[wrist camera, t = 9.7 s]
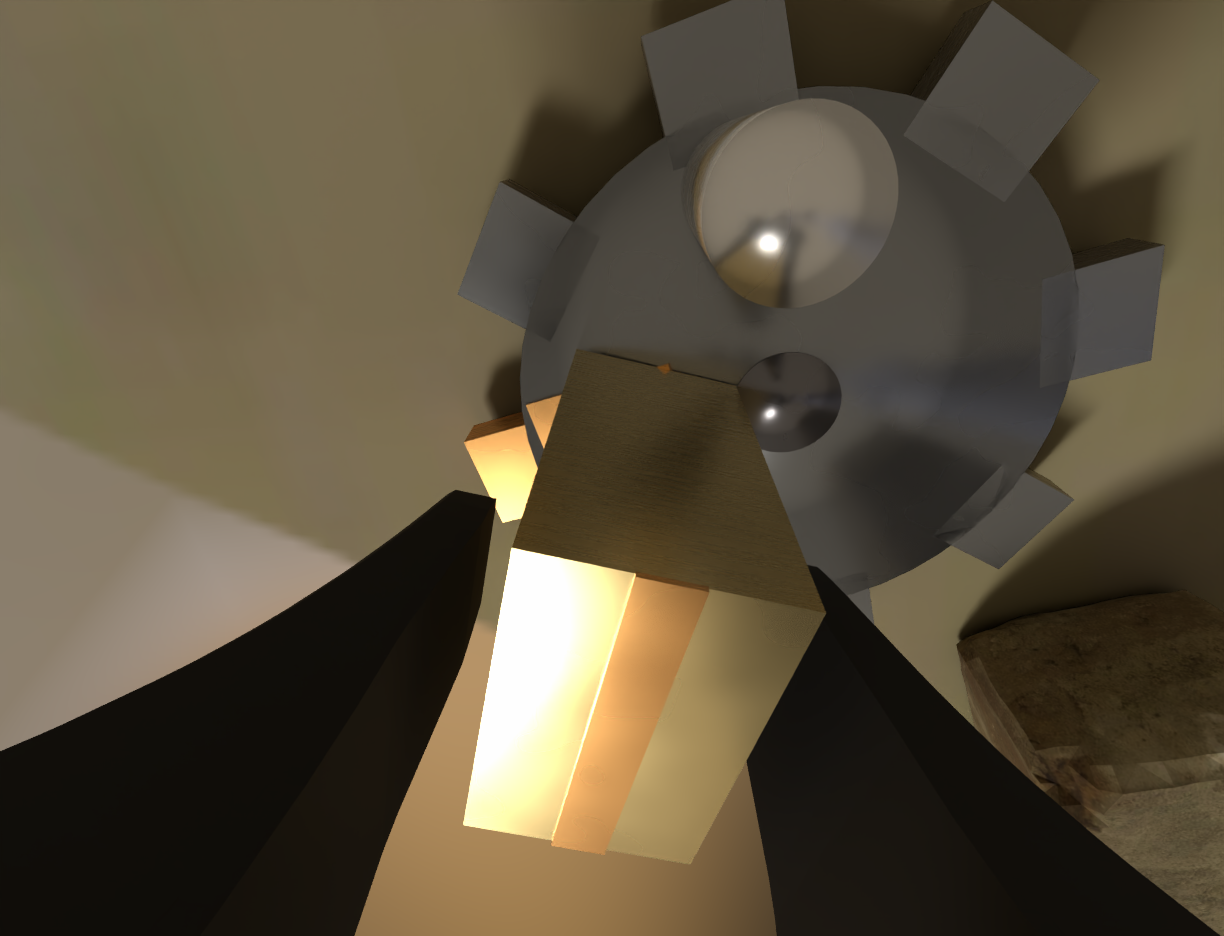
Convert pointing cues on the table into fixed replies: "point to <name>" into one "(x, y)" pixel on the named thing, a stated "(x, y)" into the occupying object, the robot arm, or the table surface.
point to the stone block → (1119, 728)
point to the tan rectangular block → (639, 618)
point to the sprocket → (834, 285)
